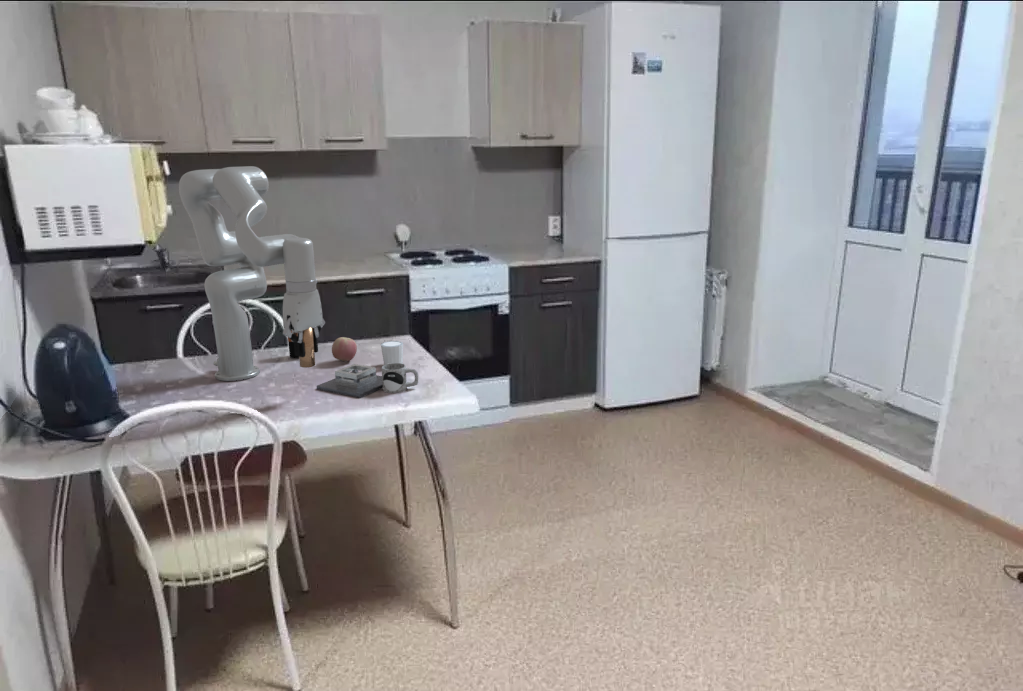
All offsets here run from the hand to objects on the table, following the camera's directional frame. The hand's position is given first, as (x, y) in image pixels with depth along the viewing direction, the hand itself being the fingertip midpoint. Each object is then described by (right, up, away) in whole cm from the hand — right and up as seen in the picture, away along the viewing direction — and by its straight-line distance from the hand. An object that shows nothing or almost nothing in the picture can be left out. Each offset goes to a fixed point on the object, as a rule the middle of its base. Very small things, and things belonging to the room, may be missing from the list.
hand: (306, 353), depth 188 cm
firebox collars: (+10, -9, +13) cm, 19 cm away
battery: (-14, -2, +42) cm, 45 cm away
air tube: (0, -3, +1) cm, 3 cm away
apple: (+2, -3, +36) cm, 36 cm away
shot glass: (+18, -4, +31) cm, 36 cm away
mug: (+24, -10, +10) cm, 28 cm away
